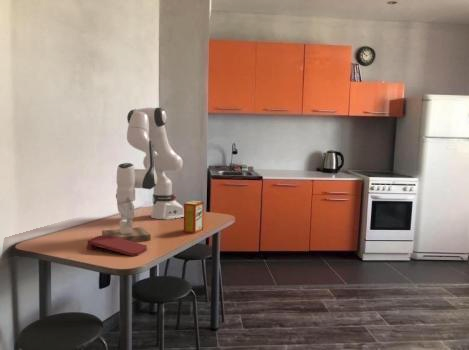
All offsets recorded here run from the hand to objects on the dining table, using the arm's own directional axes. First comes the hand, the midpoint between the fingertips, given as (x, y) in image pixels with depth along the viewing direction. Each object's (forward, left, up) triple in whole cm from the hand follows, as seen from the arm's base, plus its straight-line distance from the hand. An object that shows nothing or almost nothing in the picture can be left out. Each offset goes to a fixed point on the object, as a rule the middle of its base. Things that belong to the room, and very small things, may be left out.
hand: (126, 224), depth 200 cm
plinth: (0, 0, -7) cm, 7 cm away
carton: (+8, +18, -7) cm, 21 cm away
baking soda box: (-36, -1, -7) cm, 37 cm away
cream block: (0, 0, -4) cm, 4 cm away
